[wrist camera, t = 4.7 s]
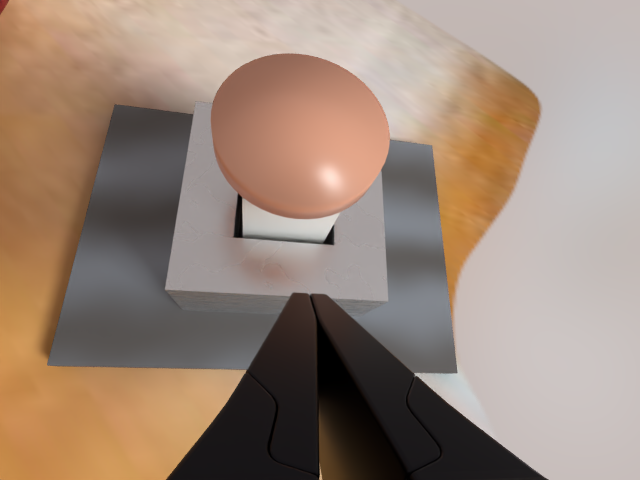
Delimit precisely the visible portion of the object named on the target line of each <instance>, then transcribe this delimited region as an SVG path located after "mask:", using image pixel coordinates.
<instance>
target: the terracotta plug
mask: <svg viewBox="0 0 640 480" xmlns="http://www.w3.org/2000/svg"><path fill="white" fill-rule="evenodd" d="M211 131H212V139H213V146H214V153H215V156H216V160H217V163H218V165H219V168H220V170H221V172H222V174H223V175H224V177H225V179H226V180H227V181H228V183H229V184H230V185H231V186H232V188H233V189H234V190H235V191H236V192H237V193H238V194H240V195H241V196H242V216H243V238H252V239H265V240H278V241H291V242H304V243H317V244H323V242H324V240H325V239H326V237H327V235H328V233H329V232H330V230H331V228H332V226H333V225H334V223H335V221H336V219H337V218H338V216H339V214H340V212H342V211H343V210H345V209H347V208H349V207H351V206H352V205H353V204H355V203H356V202H357V201H358V200H359V199H360V198H362V197H363V196H364V195H365V193H366V192H367V190H368V189H369V188H370V186H371V185H372V183H373V182H374V180H375V179H376V177H377V176H378V174H379V172H380V171H381V169H382V167H383V165H384V163H385V161H386V158H387V155H388V150H389V144H390V133H389V126H388V122H387V119H386V115H385V113H384V111H383V108H382V106H381V105H380V103H379V101H378V100H377V98H376V97H375V95H374V94H373V93H372V91H371V90H370V89H369V88H368V87H367V86H366V85H365V84H364V83H363V82H362V81H361V80H360V79H358V78H357V77H356V76H355V75H353V74H352V73H350V72H349V71H348V70H346V69H344V68H342V67H340V66H339V65H337V64H334V63H332V62H330V61H327V60H324V59H321V58H318V57H314V56H309V55H302V54H275V55H270V56H265V57H261V58H258V59H255V60H253V61H251V62H249V63H246V64H244V65H243V66H241V67H240V68H238V69H237V70H235V71H234V72H233V73H232V74H231V75H230V76H228V78H227V79H226V80H225V81H224V82H223V83H222V85H221V87H220V88H219V90H218V91H217V94H216V96H215V98H214V101H213V105H212V109H211Z"/></svg>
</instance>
